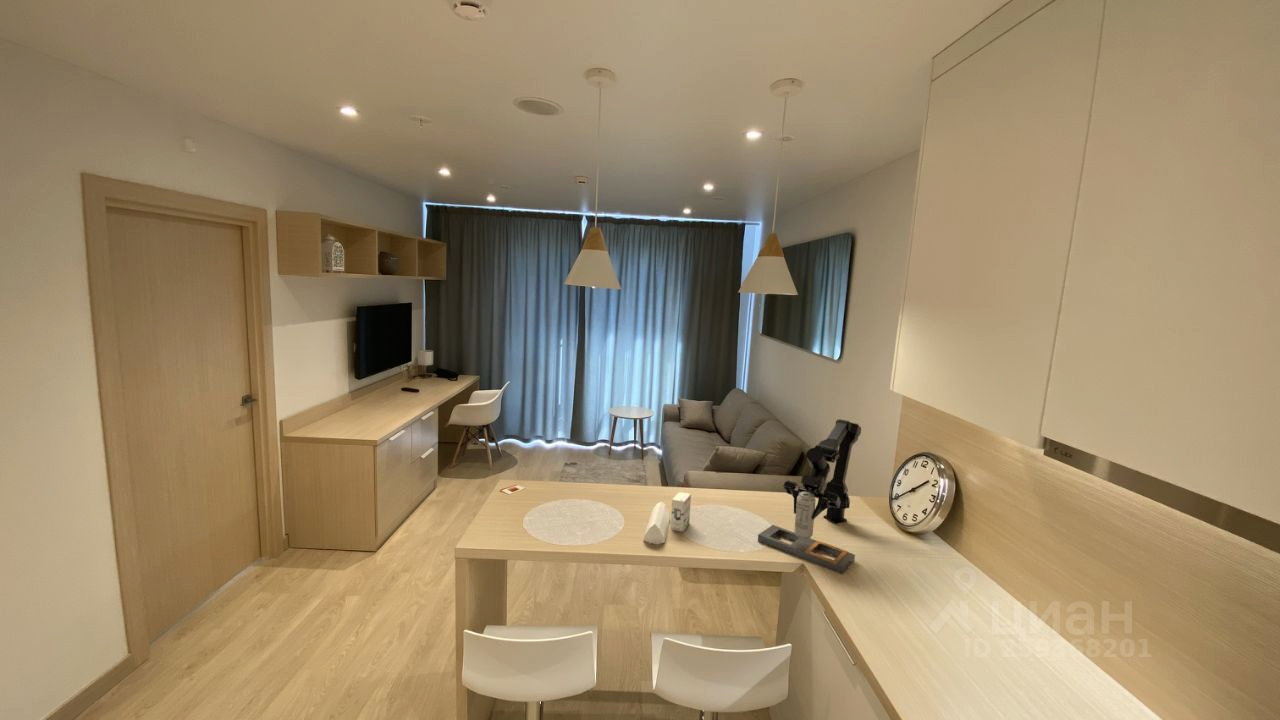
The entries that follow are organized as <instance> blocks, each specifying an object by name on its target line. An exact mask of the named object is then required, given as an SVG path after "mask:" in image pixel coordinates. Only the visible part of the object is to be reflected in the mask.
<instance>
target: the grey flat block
mask: <svg viewBox="0 0 1280 720" xmlns="http://www.w3.org/2000/svg"><path fill="white" fill-rule="evenodd" d="M778 537H782V538H784V539H787V540H790V541H792V543H790V544H789V543H787V542H785V541H782V540H779V539H777V538H778ZM757 542H760V543H761V544H764V545H767V546H769V547H772V548H774V549H776V550H778V551H782V552H784V553H787V554H789V555H792V556H794V557H797V558H800V559H801V560H805V561H807V562H809V563H813V564H815V565H818V566H820V567H822V568H825V569H828V570H830V571H833V572H834V573H838V574H841V575H843V574H844V573H845V572H846V571H847V570H848V569H849V568H850V567H851V566H852V565H853V564H854V563H855V559H856V554H854V553H851V552H849V551H848V550H845V549H842V548H840V547H837V546H834V545H831V544H828V543H825V542H823V541H820V540H816V539H813V538H812V537H811V538H810V539H801V538H798V537H797V536H796V534H795V532H794V531H791V530H788V529H786V528H783V527H780V526H777V525H775V524H772V525H770V526H769V527H767V528H765V530H763V531H761V532H760V533H758V534H757ZM818 552H821V553H825V554H827V555H830V556H832V557H835V558H834V559H831V558H829V557H826V556H823V555H821V554H818Z"/></svg>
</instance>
